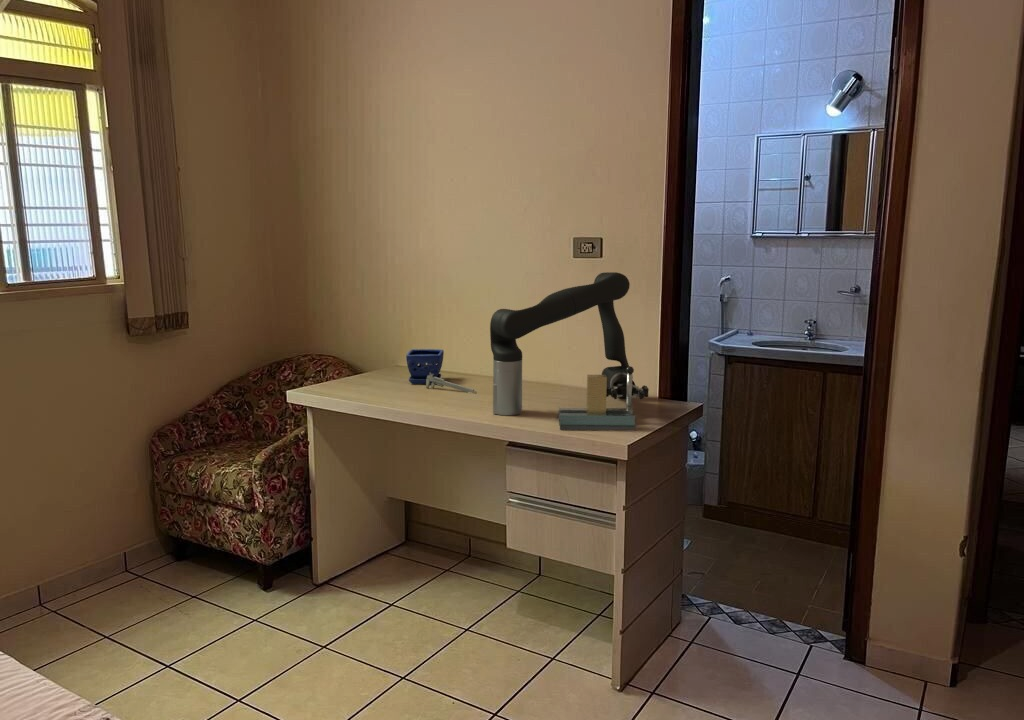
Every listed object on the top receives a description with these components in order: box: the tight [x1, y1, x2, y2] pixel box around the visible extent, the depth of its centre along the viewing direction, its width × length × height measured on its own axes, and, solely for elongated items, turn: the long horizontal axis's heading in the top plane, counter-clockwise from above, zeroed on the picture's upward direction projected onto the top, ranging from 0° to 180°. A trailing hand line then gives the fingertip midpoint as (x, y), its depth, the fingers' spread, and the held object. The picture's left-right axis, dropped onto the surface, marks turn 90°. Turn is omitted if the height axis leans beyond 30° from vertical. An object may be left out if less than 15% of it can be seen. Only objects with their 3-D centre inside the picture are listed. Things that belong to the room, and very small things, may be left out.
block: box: [586, 374, 607, 413], centre depth 236 cm, size 4×6×14 cm
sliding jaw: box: [558, 365, 635, 419], centre depth 240 cm, size 4×22×16 cm, turn 89°
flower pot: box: [405, 348, 445, 385], centre depth 303 cm, size 13×13×12 cm
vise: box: [557, 413, 636, 431], centre depth 239 cm, size 16×22×4 cm
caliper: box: [425, 373, 477, 394], centre depth 287 cm, size 20×1×6 cm, turn 67°
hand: (628, 396), depth 241 cm, fingers open, 7 cm apart
